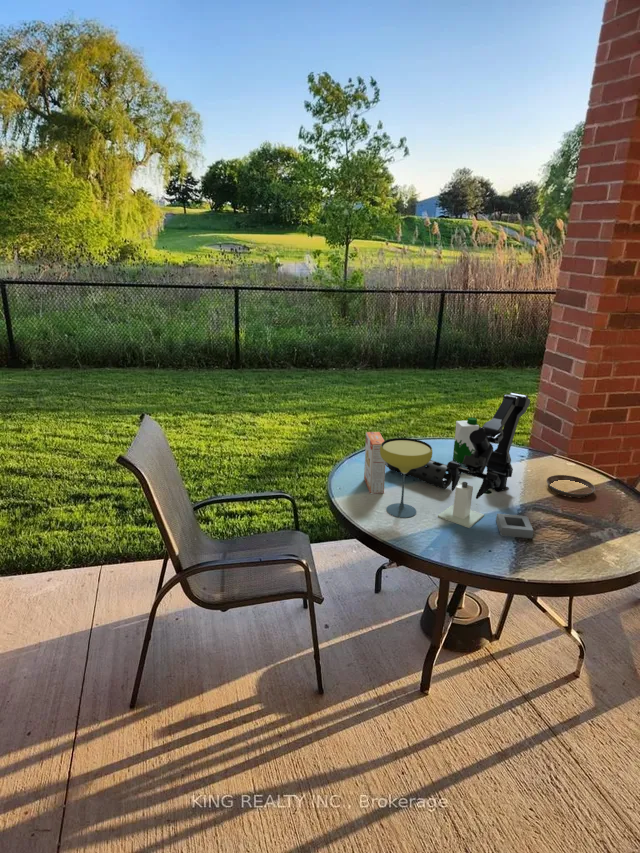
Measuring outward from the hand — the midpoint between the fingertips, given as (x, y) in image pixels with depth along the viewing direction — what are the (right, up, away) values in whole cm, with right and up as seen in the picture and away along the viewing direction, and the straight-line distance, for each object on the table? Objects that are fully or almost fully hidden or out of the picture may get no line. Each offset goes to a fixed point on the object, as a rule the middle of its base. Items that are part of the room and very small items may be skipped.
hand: (464, 494), depth 184 cm
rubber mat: (0, -8, +2) cm, 8 cm away
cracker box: (-29, 0, +25) cm, 39 cm away
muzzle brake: (-11, +2, +32) cm, 34 cm away
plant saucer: (+49, -2, +25) cm, 55 cm away
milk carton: (+14, +8, +53) cm, 55 cm away
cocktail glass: (-21, -7, +6) cm, 23 cm away
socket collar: (+15, -11, -6) cm, 20 cm away
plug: (0, -8, +2) cm, 8 cm away
